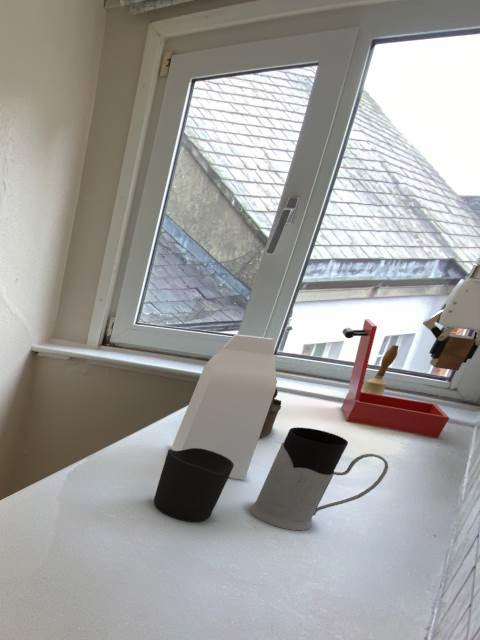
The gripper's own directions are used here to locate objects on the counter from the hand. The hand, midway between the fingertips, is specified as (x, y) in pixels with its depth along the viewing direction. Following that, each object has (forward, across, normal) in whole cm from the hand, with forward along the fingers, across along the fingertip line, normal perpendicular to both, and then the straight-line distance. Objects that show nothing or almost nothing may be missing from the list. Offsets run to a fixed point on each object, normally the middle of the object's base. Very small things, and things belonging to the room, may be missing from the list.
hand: (448, 358), depth 125 cm
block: (+2, 0, 0) cm, 2 cm away
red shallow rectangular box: (+19, +2, -11) cm, 23 cm away
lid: (+4, +12, -11) cm, 17 cm away
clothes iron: (+20, +32, +24) cm, 44 cm away
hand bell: (+19, +3, -36) cm, 41 cm away
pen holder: (+20, +40, +81) cm, 93 cm away
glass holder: (+20, +24, +72) cm, 78 cm away
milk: (+20, +39, +54) cm, 69 cm away
